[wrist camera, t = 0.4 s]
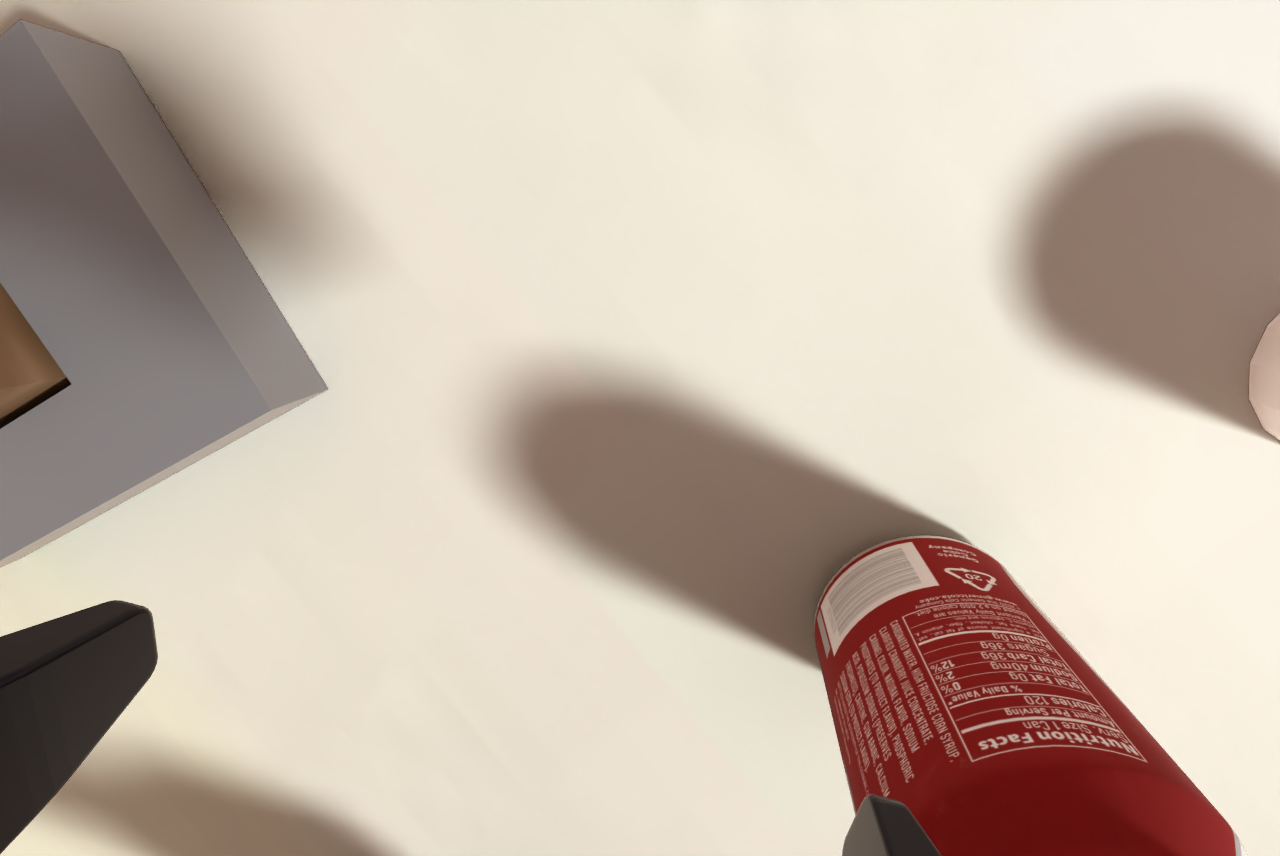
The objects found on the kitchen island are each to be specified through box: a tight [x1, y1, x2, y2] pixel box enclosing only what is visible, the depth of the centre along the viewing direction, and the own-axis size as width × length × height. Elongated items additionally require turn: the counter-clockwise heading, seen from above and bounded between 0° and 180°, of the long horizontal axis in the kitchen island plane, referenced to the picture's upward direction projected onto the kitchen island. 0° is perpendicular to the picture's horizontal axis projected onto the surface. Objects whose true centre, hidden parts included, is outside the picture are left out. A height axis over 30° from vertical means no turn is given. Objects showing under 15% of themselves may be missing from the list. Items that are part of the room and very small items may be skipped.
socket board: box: [0, 19, 328, 567], centre depth 22 cm, size 12×16×3 cm
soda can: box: [814, 535, 1248, 856], centre depth 17 cm, size 7×7×12 cm
